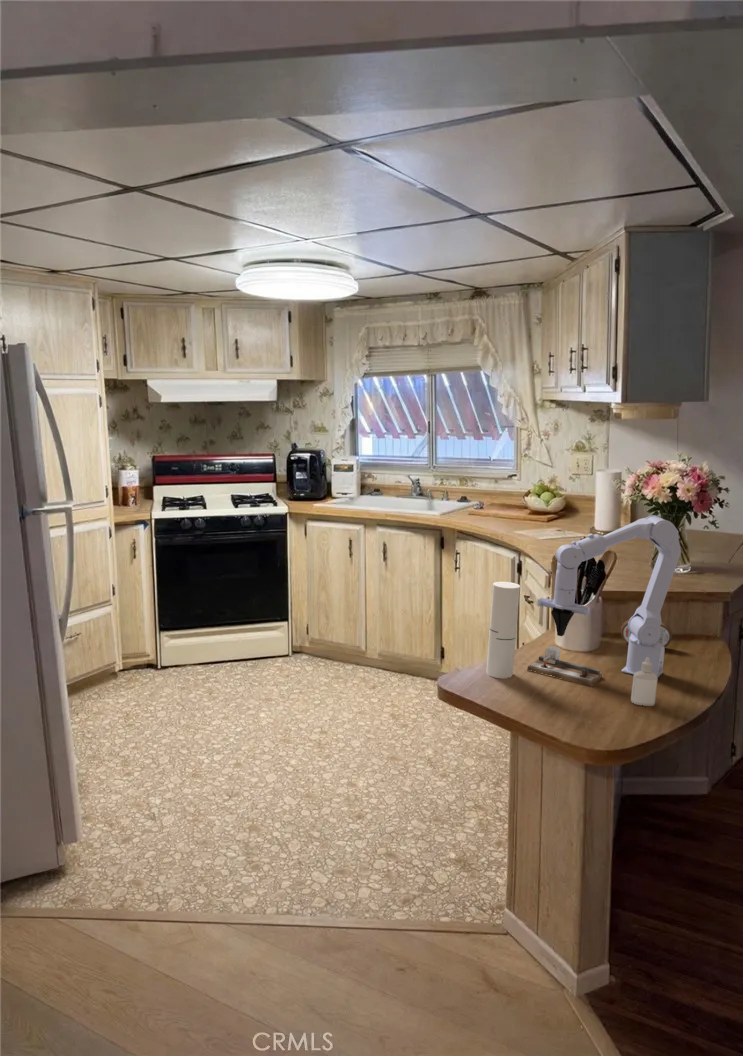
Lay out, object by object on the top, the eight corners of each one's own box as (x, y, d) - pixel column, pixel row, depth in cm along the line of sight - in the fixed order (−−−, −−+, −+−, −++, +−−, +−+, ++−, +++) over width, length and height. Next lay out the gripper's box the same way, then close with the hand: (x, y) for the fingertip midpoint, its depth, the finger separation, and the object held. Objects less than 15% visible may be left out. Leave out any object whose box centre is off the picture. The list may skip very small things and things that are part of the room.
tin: (670, 648, 235) (673, 622, 234) (670, 651, 232) (673, 625, 231) (619, 641, 240) (622, 616, 238) (619, 644, 237) (622, 618, 235)
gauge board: (601, 677, 207) (603, 665, 207) (591, 686, 200) (592, 674, 199) (539, 662, 217) (540, 650, 216) (527, 670, 210) (528, 658, 209)
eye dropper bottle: (651, 709, 187) (656, 662, 185) (628, 702, 190) (633, 657, 188) (656, 704, 190) (661, 658, 188) (634, 697, 193) (639, 653, 191)
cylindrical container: (496, 667, 211) (503, 580, 207) (517, 674, 206) (525, 585, 202) (481, 672, 206) (487, 583, 202) (502, 680, 201) (509, 589, 197)
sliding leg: (559, 661, 214) (560, 647, 213) (549, 668, 208) (550, 654, 207) (548, 659, 215) (550, 645, 215) (539, 665, 209) (540, 652, 209)
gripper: (535, 586, 210) (530, 632, 212) (586, 595, 202) (581, 644, 204) (544, 581, 216) (540, 627, 218) (594, 590, 208) (589, 638, 210)
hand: (560, 635), depth 212 cm, fingers closed
